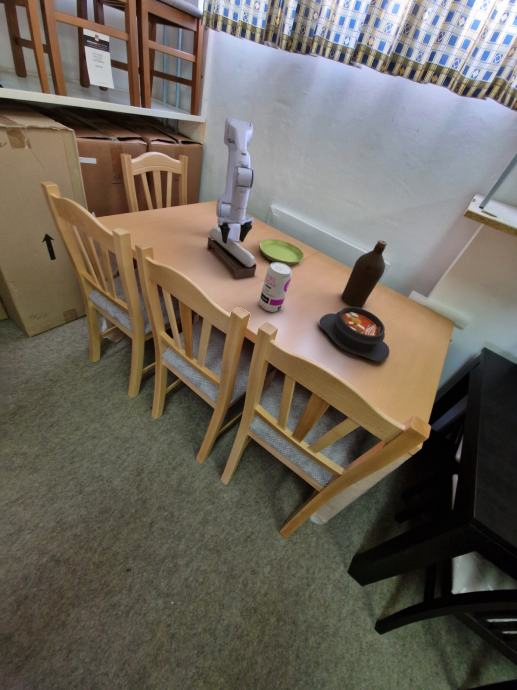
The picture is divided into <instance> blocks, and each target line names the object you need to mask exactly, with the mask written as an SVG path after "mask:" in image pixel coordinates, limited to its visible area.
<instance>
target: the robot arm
mask: <svg viewBox="0 0 517 690" xmlns="http://www.w3.org/2000/svg"><path fill="white" fill-rule="evenodd" d="M223 131H224V133H223V144H224V145H225V146H227V150H228V151H227V152H228V155H227V165H226V177H225V187H224V188H225V189H224V193H222V194H221V195H220V196H218V197H217V202H216V208H215V209H216V210H215V215H216V217H217V227H219V228H220V230H221V234H222V242H223V243H224V244H226V243H227V238H228V236H229V237H230V238H232V239H233V240H234V241H235V242H239V241H240V242H241V243H244V242H245V239H246V237H247V236H248V234H249V233H250V231H251V230H252V229H253V225H254V222H255V217H253V216H247V215H246V213H247V207H248V202H249V196H250V190H251V189H252V188H253V185H254V179H255V170H254V168H253V167H252V166H251V165H252V164H251V163H252V162H251V154H250V153H249V151H247V150H248V147H249V145H250V143H251V141H252V138H253V134H254V125H253V123H252V122H250V121H249V122H248V121H245V120H241V119H236V118H232V117H230V116H228V117H226V118H225V121H224V130H223ZM252 224H253V225H252Z"/></svg>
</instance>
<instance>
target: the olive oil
mask: <svg viewBox="0 0 517 690" xmlns="http://www.w3.org/2000/svg"><path fill="white" fill-rule="evenodd" d="M387 245H388V243H387V242H386V241H384V240H381V239H379V240H377V243H376V244H375V246H374V247H373V250H371V251H368V252H365V253H364V254H362V255H360V256H359V257H358V258H357V259H356V260H355V263H354V266H353V268H352V270H351V273H350V275H349V278H348V279H347V283H346V284H345V286H344V288H343V292H342V293H341V296H340V299H341V301H342V302H343V303H344V304H345V305H347V306H348V307H357V308H361V309H362V308H363V307H364V306H365V304H366V302H367V301H368V299H369V297H370V295H371V294H372V292H373V291H374V289H375V287H376V286H377V284H378V283H379V281H380V280H381V278H382V276H383V275H384V273H385V270H386V263H385V260H384V259H385V258H384V256H383V253H384V251H385V249H386V246H387Z"/></svg>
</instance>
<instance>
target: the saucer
mask: <svg viewBox="0 0 517 690" xmlns="http://www.w3.org/2000/svg"><path fill="white" fill-rule="evenodd" d="M259 249H260V251H261V253H262V254H263V256H264V257H265V258H266V259H267V260H269V261H271V262H272V263H275V262H278V263H283V264H286V265H288V266H292V265H295V264H298V263H300V262H301V261H302V260H304V259H305V254H304V252H303V251H302V249H300V248H299V247H298V246H297V245H294V244H293V243H291V242H288V241H286V240H282V239H277V238H266V239H263V240H261V241H260V243H259Z"/></svg>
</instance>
